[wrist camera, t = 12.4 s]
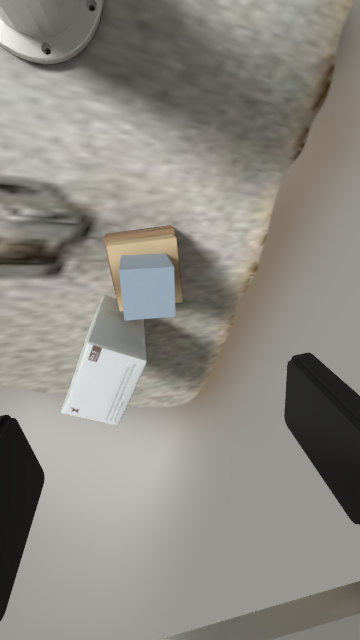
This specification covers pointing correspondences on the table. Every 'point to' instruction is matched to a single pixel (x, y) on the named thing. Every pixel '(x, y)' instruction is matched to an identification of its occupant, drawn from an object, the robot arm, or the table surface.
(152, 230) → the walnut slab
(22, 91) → the table surface
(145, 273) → the blue block
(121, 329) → the skincare box
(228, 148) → the table surface
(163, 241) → the oak slab
